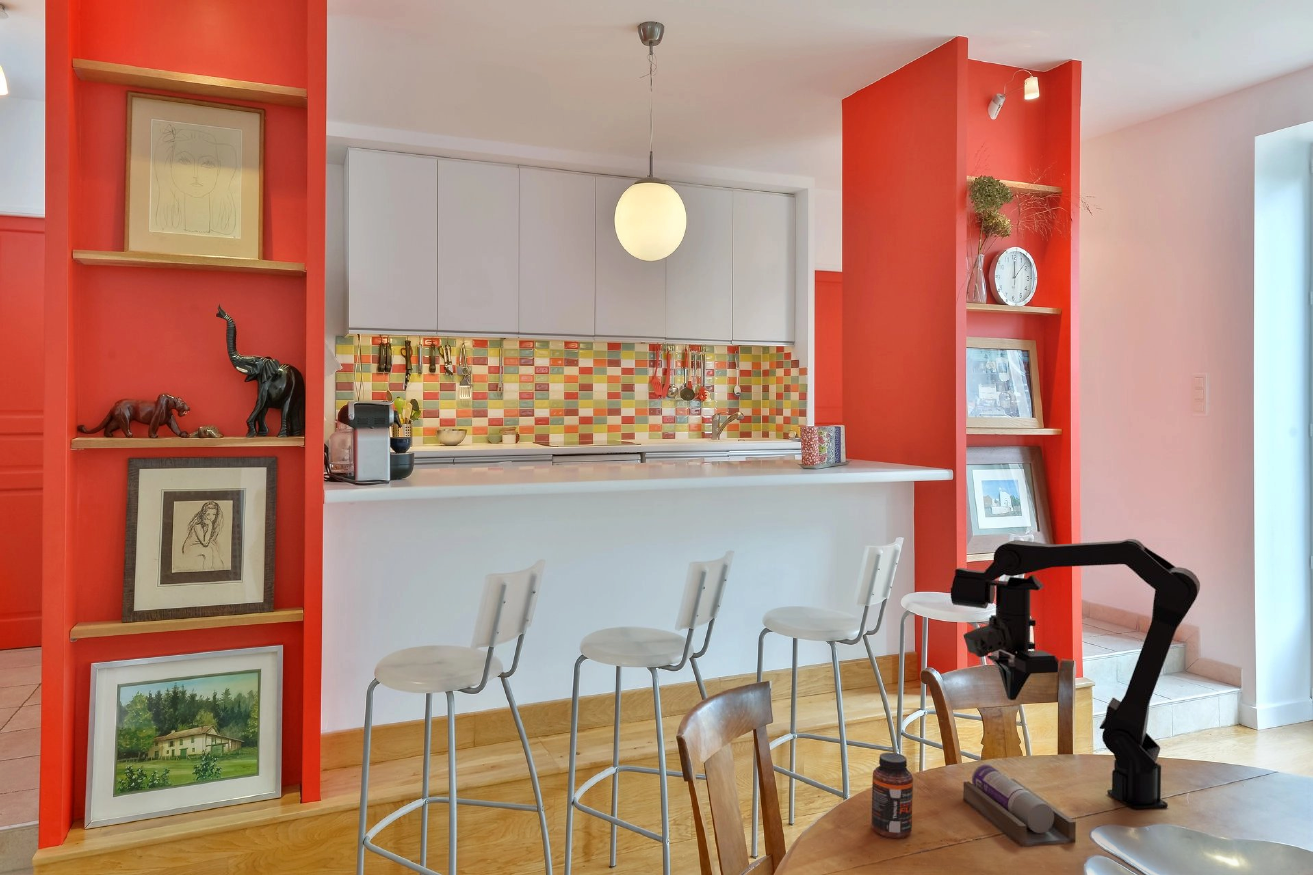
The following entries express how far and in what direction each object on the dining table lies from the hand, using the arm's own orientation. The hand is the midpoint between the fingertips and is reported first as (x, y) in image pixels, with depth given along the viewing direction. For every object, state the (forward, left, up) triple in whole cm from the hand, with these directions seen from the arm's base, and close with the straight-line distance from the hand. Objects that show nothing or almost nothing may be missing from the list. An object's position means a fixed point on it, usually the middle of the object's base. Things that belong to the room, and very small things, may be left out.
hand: (1011, 699), depth 154 cm
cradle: (+10, +18, -13) cm, 24 cm away
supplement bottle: (+31, +18, -13) cm, 38 cm away
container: (+10, +8, -10) cm, 16 cm away
